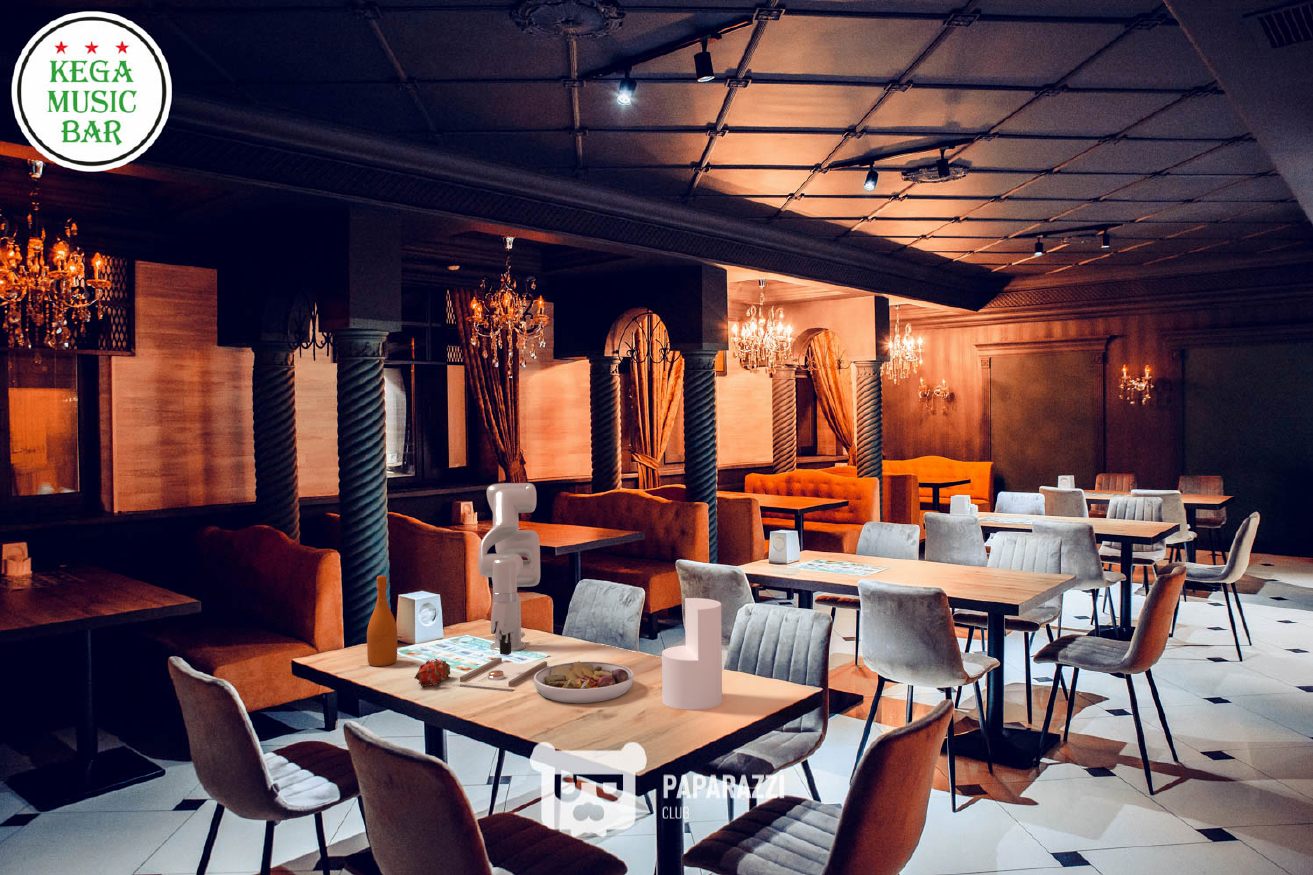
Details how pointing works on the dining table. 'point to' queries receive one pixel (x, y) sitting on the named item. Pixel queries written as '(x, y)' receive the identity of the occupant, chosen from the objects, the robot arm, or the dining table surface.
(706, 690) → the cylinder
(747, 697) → the dining table surface
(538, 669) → the board
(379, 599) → the wine bottle
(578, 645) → the dining table surface
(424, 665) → the dragon fruit
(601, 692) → the bowl
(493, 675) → the puck
